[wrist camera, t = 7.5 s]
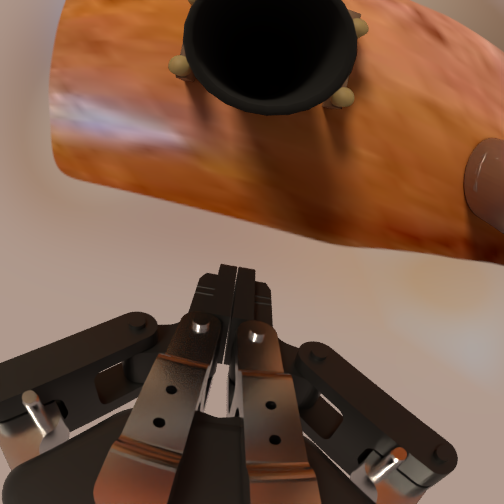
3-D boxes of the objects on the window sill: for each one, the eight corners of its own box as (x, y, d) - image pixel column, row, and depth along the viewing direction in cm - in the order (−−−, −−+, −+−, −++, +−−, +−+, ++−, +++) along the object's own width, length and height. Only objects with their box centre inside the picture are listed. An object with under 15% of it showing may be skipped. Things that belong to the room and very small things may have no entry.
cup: (316, 38, 20) (367, -11, 9) (299, 121, 23) (341, 132, 12) (222, 21, 19) (201, -43, 9) (205, 105, 23) (168, 102, 12)
